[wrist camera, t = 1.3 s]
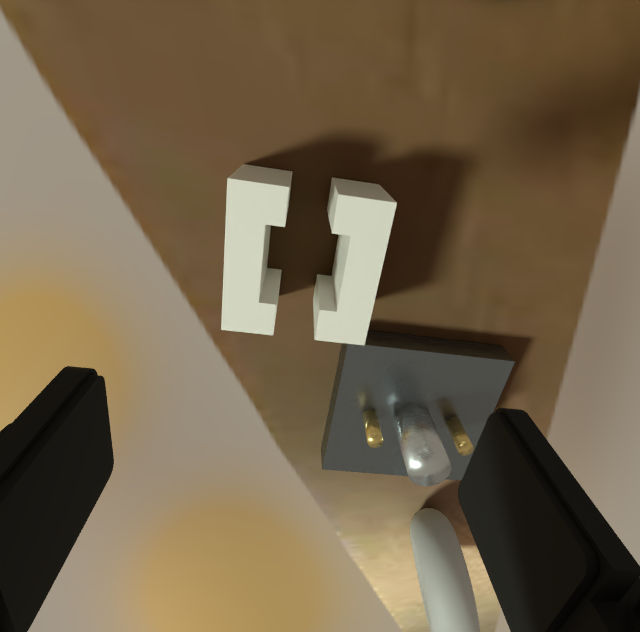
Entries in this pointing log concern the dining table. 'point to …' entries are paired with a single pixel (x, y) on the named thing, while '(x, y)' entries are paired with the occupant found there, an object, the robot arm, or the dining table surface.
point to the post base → (412, 405)
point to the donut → (442, 574)
